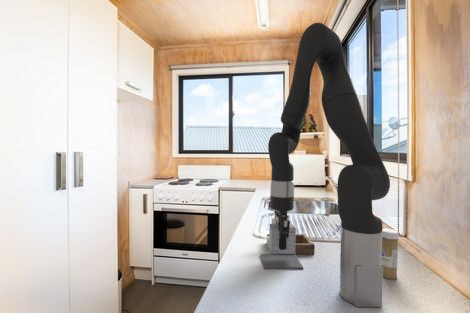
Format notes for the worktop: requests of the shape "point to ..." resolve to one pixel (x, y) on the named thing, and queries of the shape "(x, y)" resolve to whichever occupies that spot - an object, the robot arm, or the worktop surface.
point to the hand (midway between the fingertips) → (281, 246)
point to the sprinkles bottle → (389, 253)
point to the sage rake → (268, 236)
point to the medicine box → (275, 240)
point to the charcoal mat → (281, 261)
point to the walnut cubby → (303, 245)
